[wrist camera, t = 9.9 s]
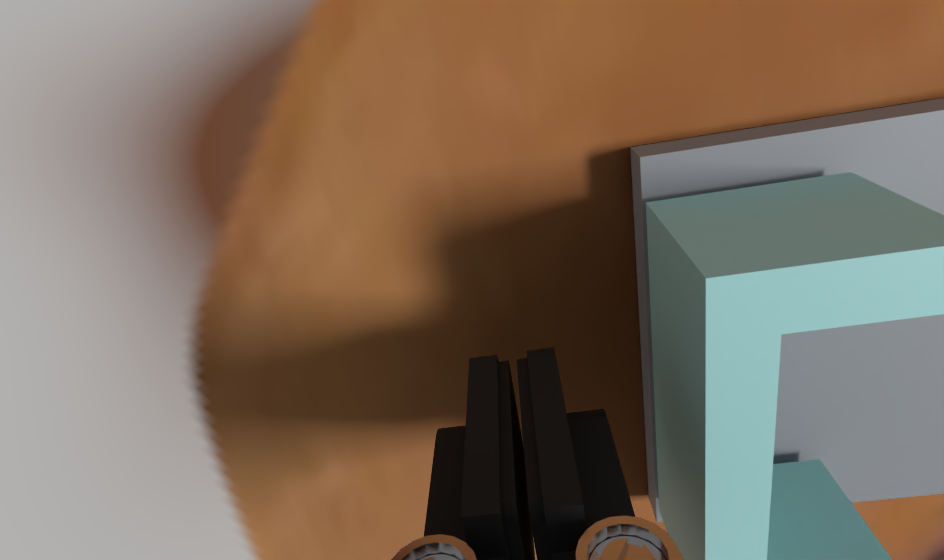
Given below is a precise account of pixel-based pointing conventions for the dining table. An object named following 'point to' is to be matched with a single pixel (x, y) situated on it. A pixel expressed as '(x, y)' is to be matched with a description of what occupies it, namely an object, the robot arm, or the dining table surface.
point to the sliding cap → (769, 350)
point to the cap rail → (835, 349)
